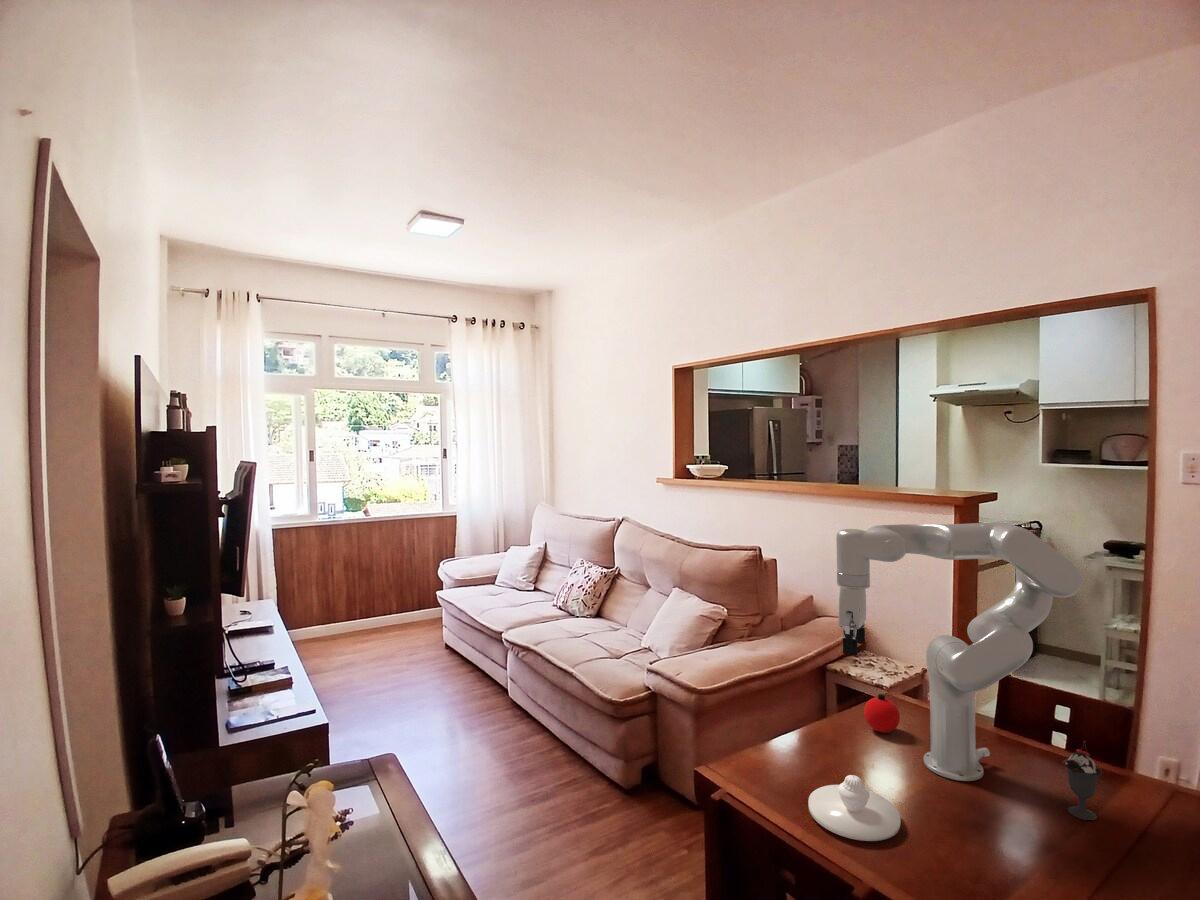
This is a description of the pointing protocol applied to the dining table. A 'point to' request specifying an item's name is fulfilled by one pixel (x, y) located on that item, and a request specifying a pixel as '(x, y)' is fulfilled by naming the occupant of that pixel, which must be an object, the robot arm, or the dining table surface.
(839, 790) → the muffin
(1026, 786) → the dining table surface
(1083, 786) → the sundae
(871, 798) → the cake plate
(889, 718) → the ornament
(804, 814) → the dining table surface
